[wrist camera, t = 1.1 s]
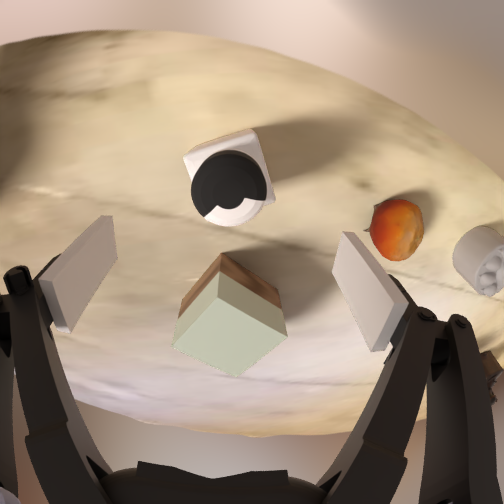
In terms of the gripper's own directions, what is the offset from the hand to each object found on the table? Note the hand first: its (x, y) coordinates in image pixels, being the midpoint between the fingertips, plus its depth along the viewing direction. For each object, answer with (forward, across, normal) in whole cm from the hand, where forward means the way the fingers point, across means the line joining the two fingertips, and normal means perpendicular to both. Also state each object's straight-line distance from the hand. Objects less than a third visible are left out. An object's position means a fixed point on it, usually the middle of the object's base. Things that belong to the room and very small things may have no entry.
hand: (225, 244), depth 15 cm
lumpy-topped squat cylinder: (+20, +45, -7) cm, 50 cm away
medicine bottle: (+19, 0, +1) cm, 19 cm away
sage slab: (+14, +1, -18) cm, 23 cm away
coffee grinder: (+20, +75, -45) cm, 90 cm away
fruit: (+19, +22, -4) cm, 29 cm away
